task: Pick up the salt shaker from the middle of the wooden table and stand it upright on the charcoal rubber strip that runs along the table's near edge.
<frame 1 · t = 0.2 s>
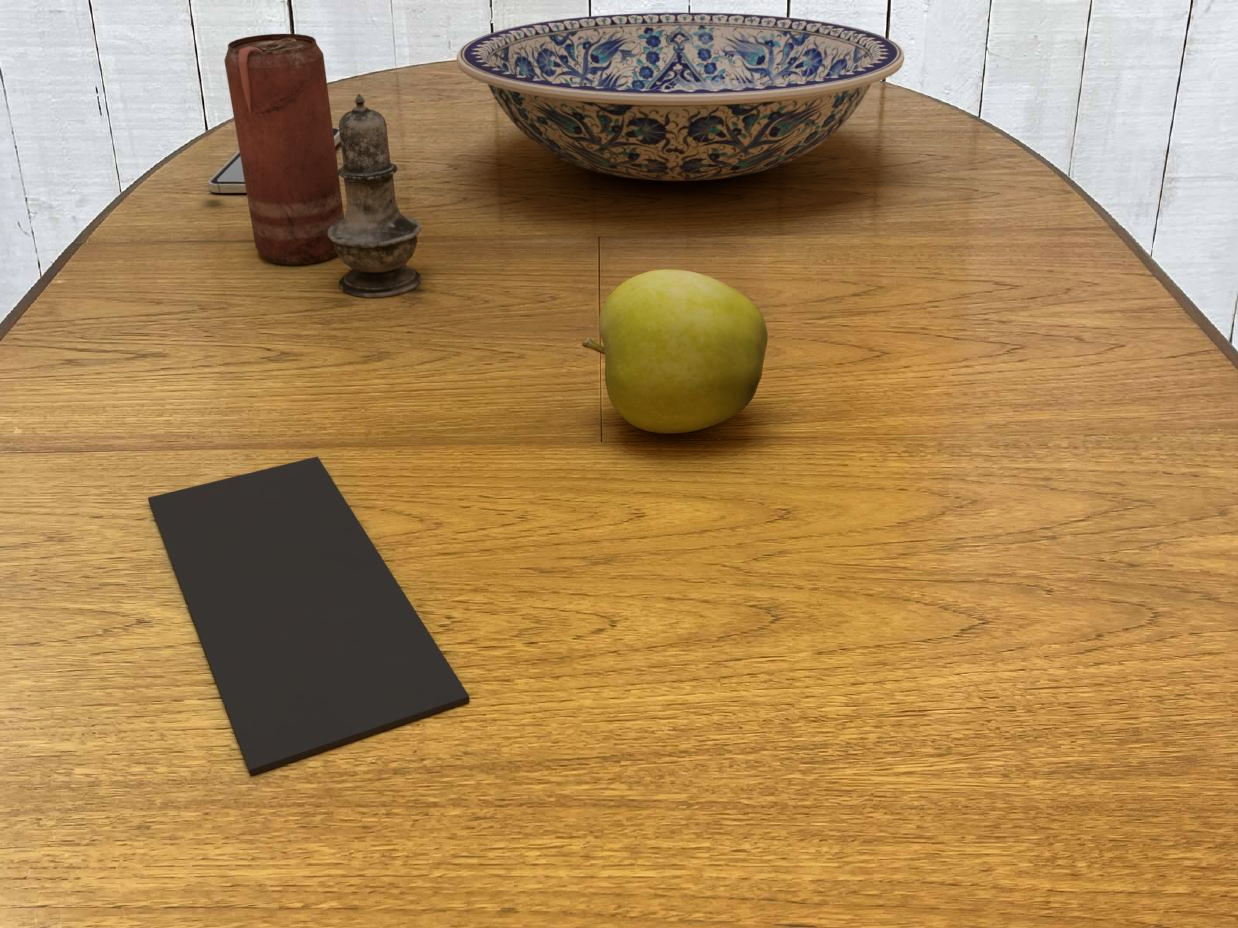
smartphone: (280, 166, 104), on the table
salt shaker: (380, 284, 81), on the table
apple: (672, 427, 64), on the table
edge mat: (290, 590, 52), on the table
ceramic bowl: (677, 169, 102), on the table
can: (302, 254, 86), on the table
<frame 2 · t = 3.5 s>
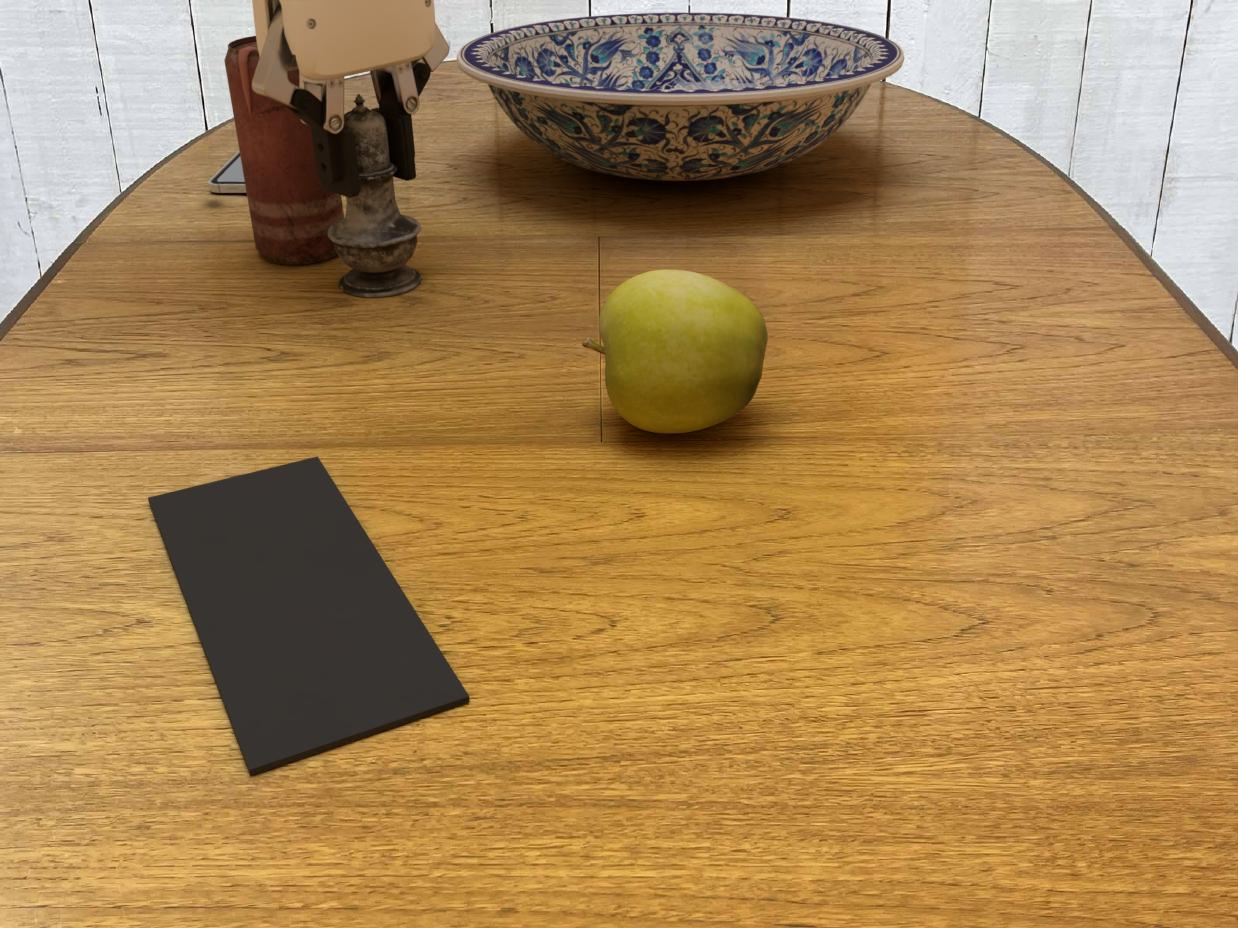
hand: (369, 181, 78), 7 cm above the table, tool pointing down, fingers closed on salt shaker, 3 cm apart
salt shaker: (380, 284, 81), on the table, touching gripper
everything else where it was.
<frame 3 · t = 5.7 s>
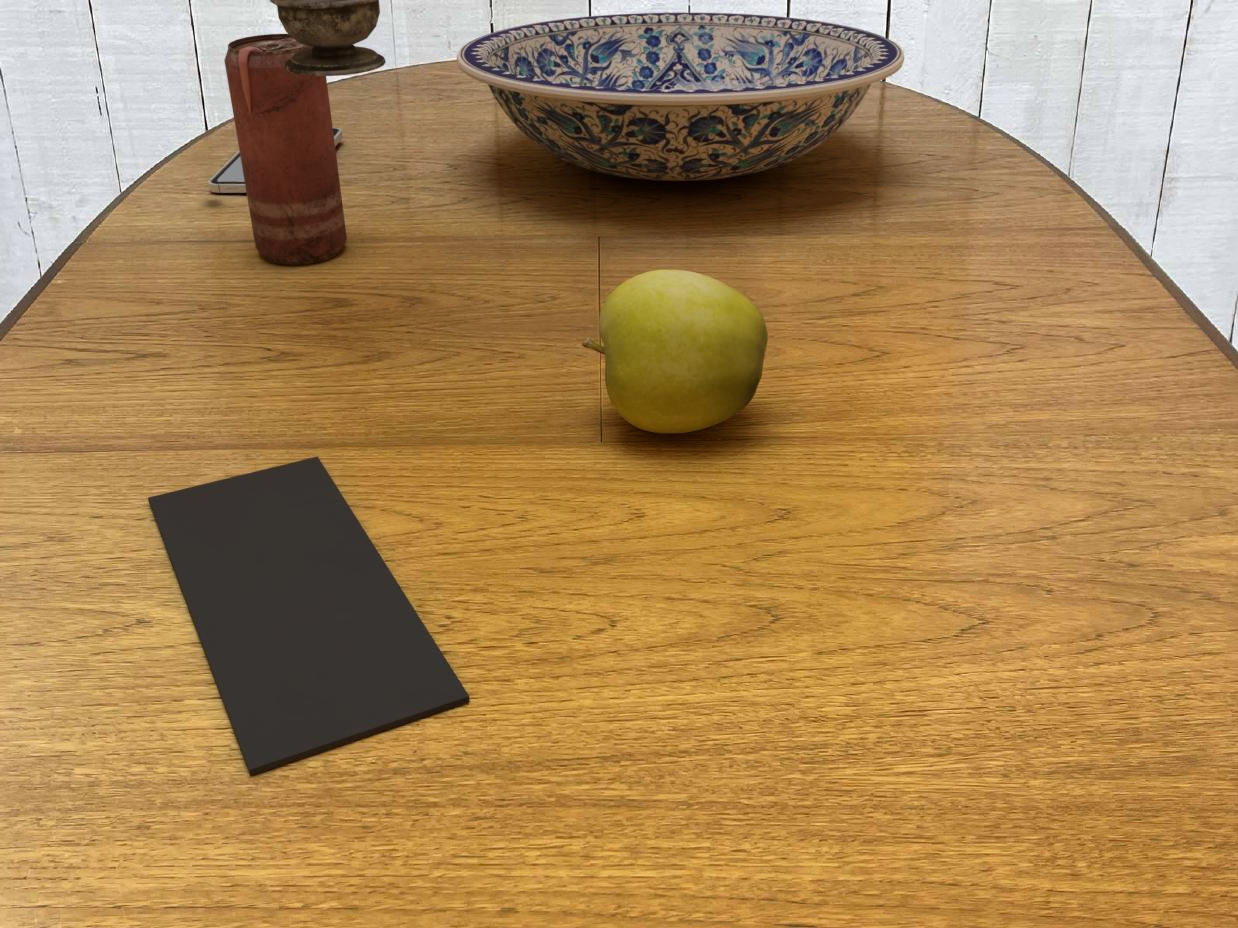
salt shaker: (335, 68, 67), point 15 cm above the table, touching gripper
everything else where it was.
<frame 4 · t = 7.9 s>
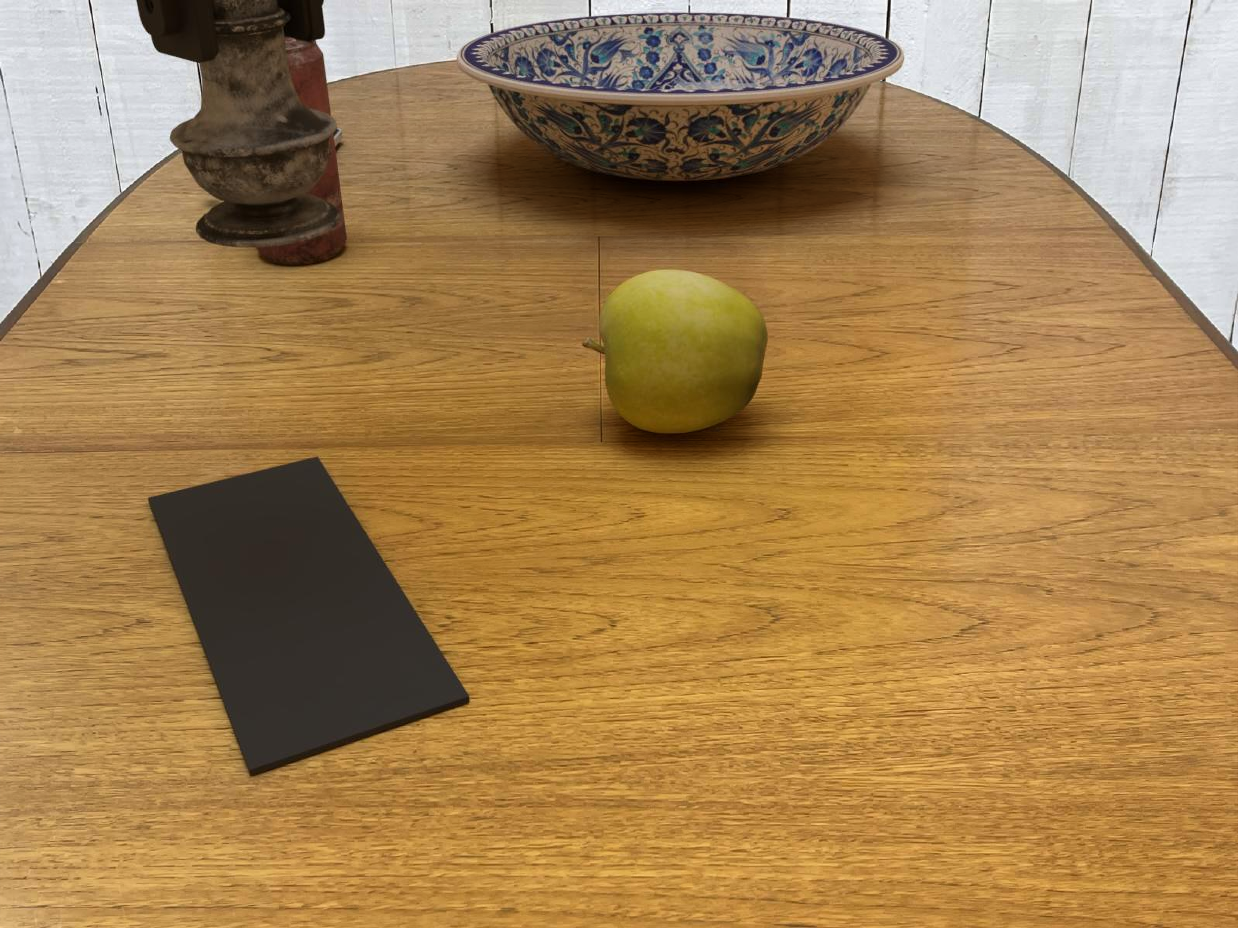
hand: (240, 39, 44), 21 cm above the table, tool pointing down, fingers closed on salt shaker, 3 cm apart
salt shaker: (269, 227, 47), point 15 cm above the table, touching gripper
everything else where it was.
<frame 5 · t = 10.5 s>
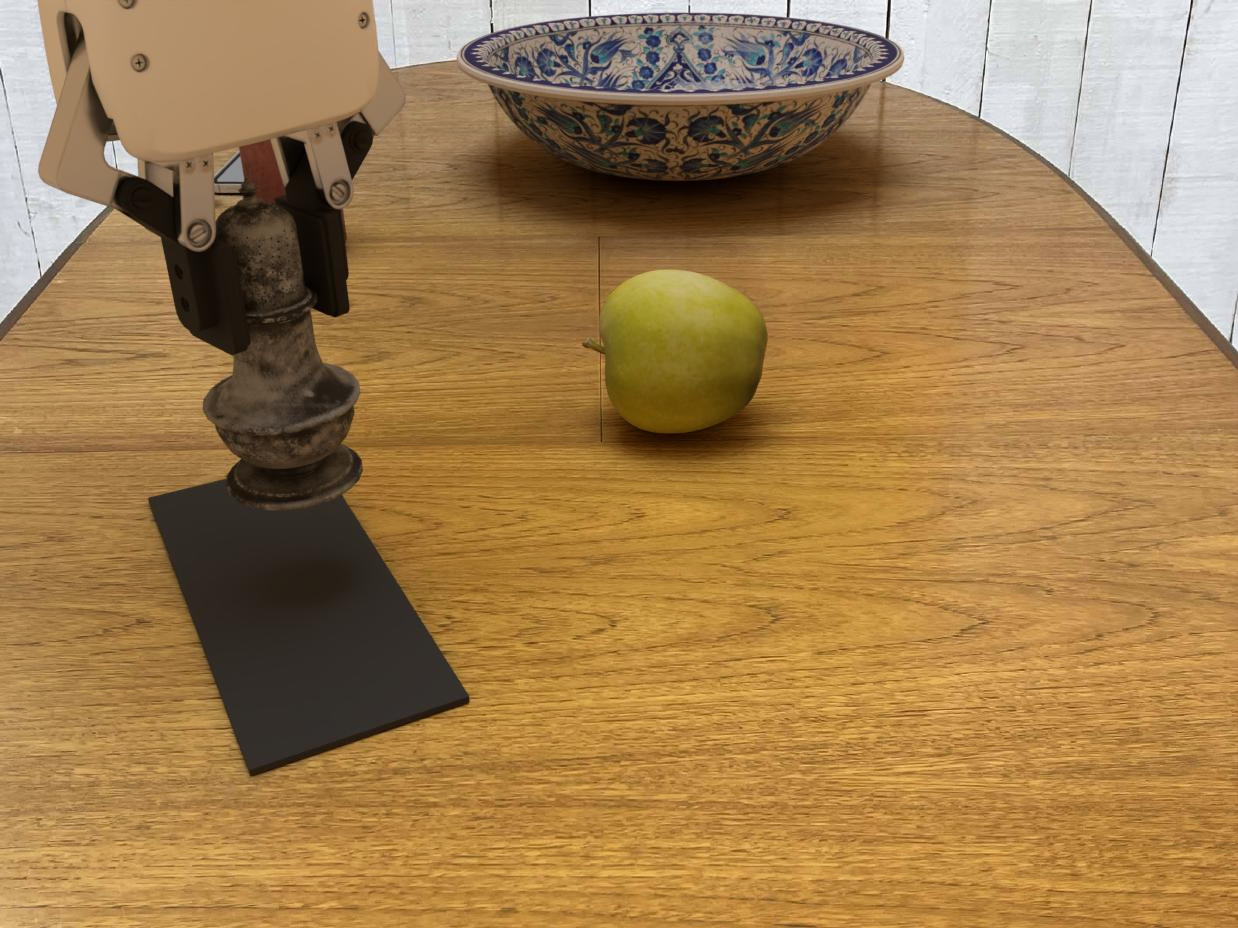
hand: (269, 319, 46), 12 cm above the table, tool pointing down, fingers closed on salt shaker, 3 cm apart
salt shaker: (296, 479, 50), point 5 cm above the table, touching gripper
everything else where it was.
when the fingers open (7 cm above the table, at t = 12.2 s): salt shaker stays where it is, resting on edge mat.
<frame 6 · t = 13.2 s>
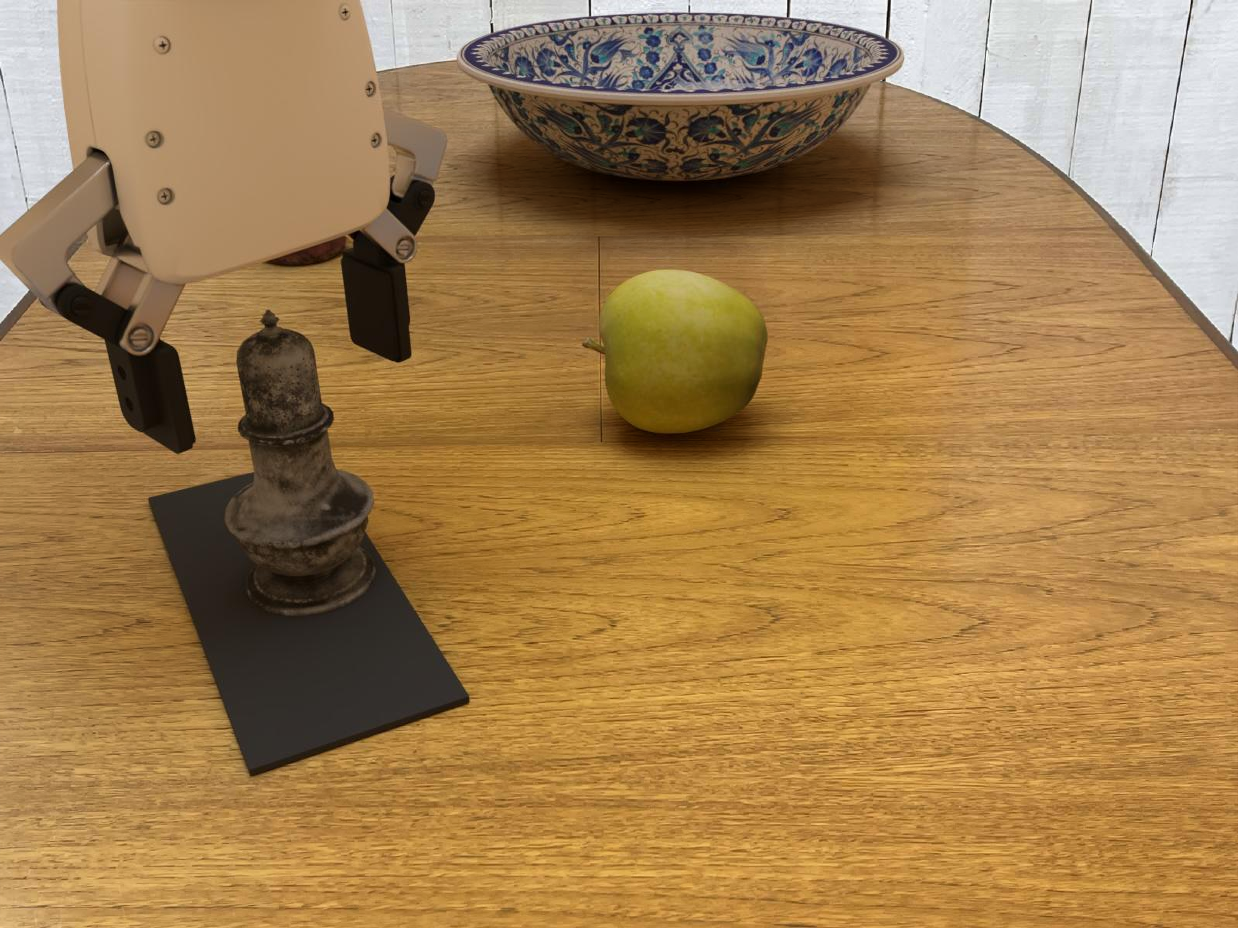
hand: (280, 392, 48), 9 cm above the table, tool pointing down, fingers open, 9 cm apart
salt shaker: (312, 581, 52), resting on edge mat
everything else where it was.
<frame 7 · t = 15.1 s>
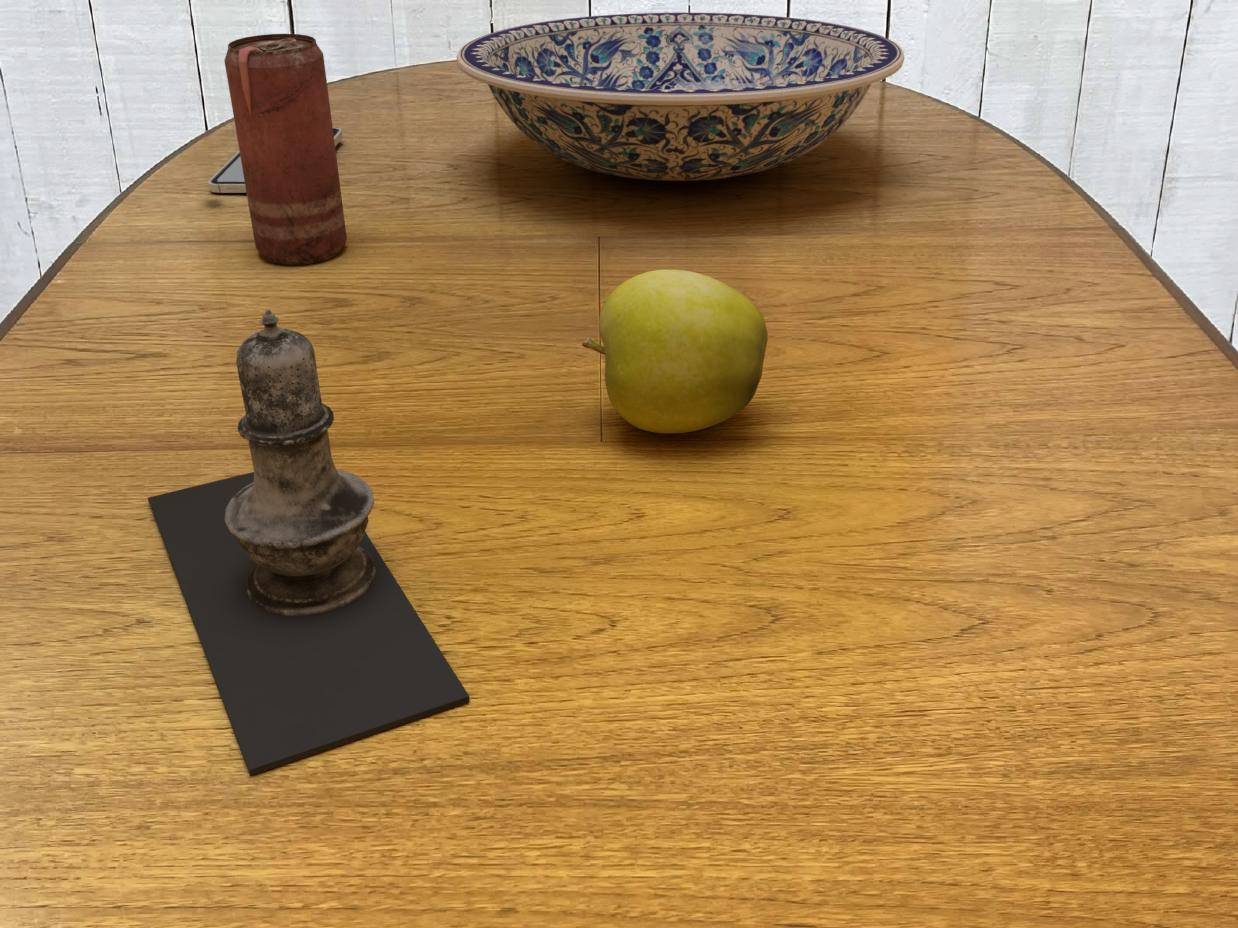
nothing on the table moved.
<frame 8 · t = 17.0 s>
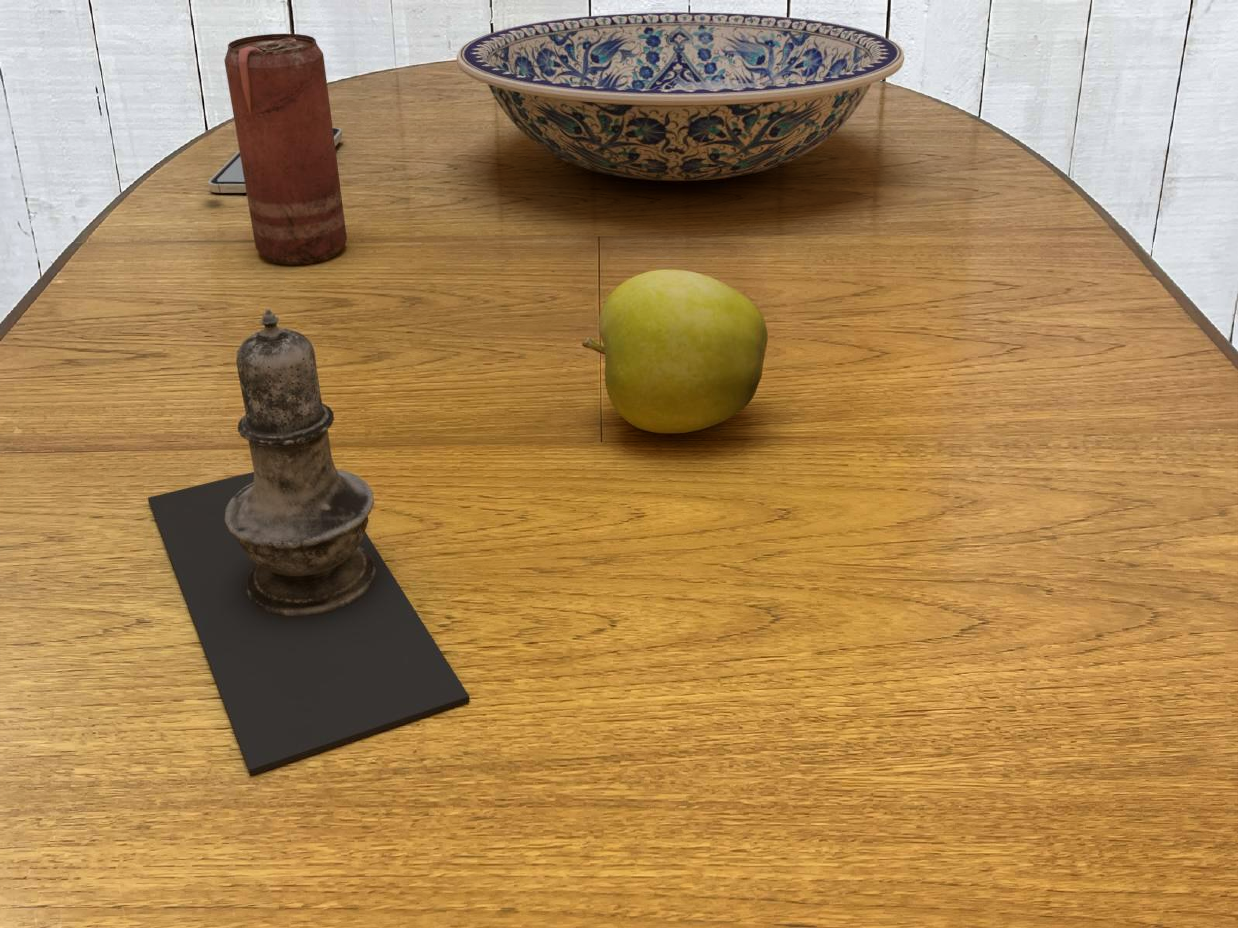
nothing on the table moved.
at the end: salt shaker inside the target area on the edge mat (0.5 cm from its centre), point 0.1 cm above the edge mat's base; salt shaker tilted 0°; the gripper is holding nothing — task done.
